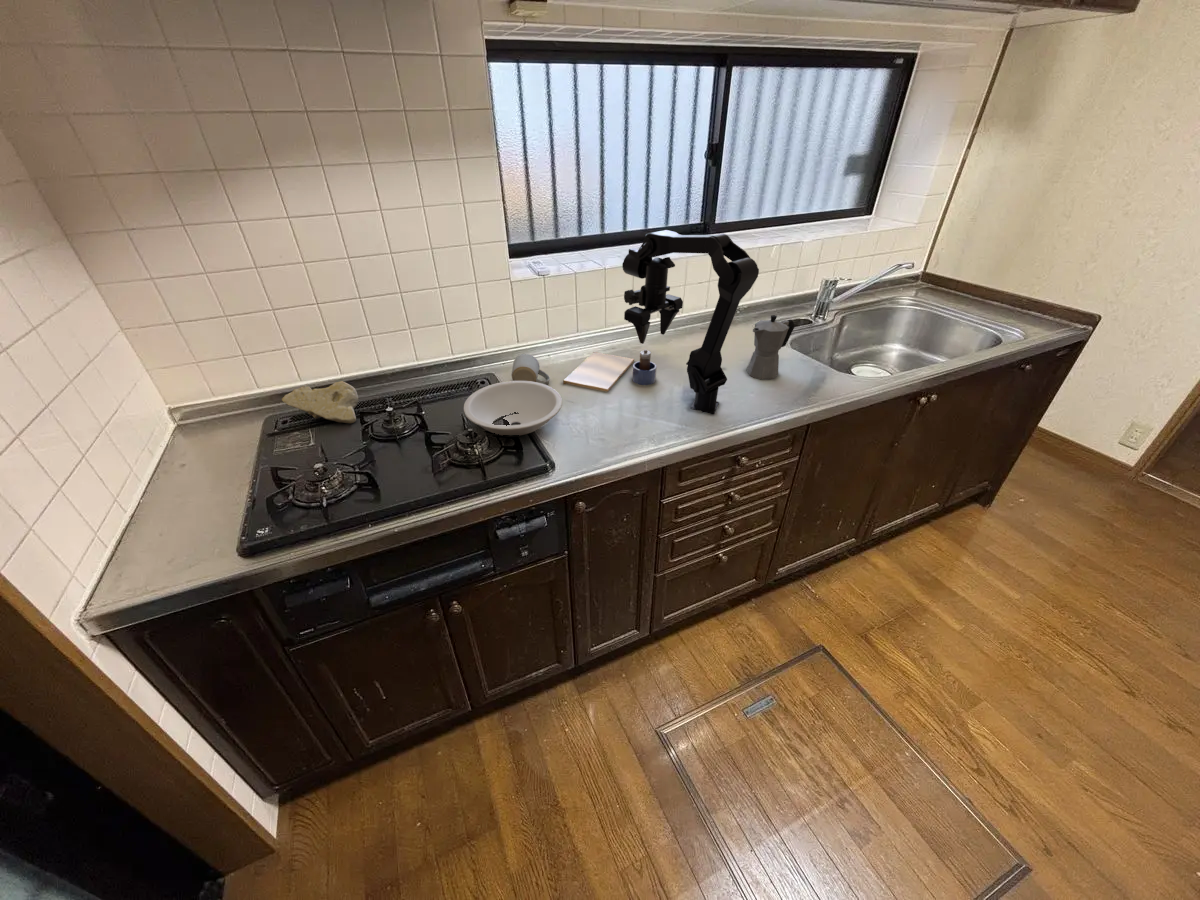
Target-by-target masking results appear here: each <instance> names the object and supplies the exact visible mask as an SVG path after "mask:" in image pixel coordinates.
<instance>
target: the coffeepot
mask: <svg viewBox="0 0 1200 900" xmlns="http://www.w3.org/2000/svg"><path fill="white" fill-rule="evenodd" d="M777 317H778V316H777V315H775V314H772V315H770V319H761V320H758V321H757V322H756V323H754V327H753V328H752V332H753V334H754V338H753V339H754V341H753V345H754V351H753V352H752V354H751V357H750V359H749V362H748V365H747V368H746V372H747V374H748V375H749V376H750V377H751V378H754V379H757V380H767V381H768V380H773V379H775V378H776V377H777V376H778V375H779V362H780V355H779V352H780V350H781V349H782V348H784V347H786V345H787V343H788V342H789V339H790V337H791V336H792V333H793V331H794V329H795V327H796V324H795V323H794V320H793V319H787V320H786V319H785V320H781V321H778V320H777Z"/></svg>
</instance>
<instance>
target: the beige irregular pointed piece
mask: <svg viewBox="0 0 1200 900" xmlns="http://www.w3.org/2000/svg"><path fill="white" fill-rule="evenodd" d="M308 385H309V383H306V384H304V385H302V386H300V387H299V388H293V390H292V391H291V392H289V393H287V394H285V395H284V396H283V397H281V401H282V402H283V403H284V404H285V405H288V406H289V407H293V408H295V409H298V410H300V411H303V412H305V413H308V415H310V416H312V417H313V419H319V418H323V419H325V420H328V421H333V422H336V423H345V424H354V423H356V422H357V416H356V413H355V408H356V407H357V406H358V403H359V395H358V392H357V389H356V388H355V387H354V386H352V385H351V384H349V383H347V382H345V381H342V380H341V381H336V382H333V383H332V384H330V385H329V386H327V387H323V388H313V389H312V388H311V387H310V386H308Z"/></svg>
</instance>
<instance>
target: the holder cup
mask: <svg viewBox="0 0 1200 900" xmlns="http://www.w3.org/2000/svg"><path fill="white" fill-rule="evenodd" d="M639 366H640V360H639V361H638V360H637V361H634V362H633V363H632V375H631V380H632V382H633V383H634V384H636V385H640V386H650V385H653V384H655V382H656V381H657V368H658V367H657V364H656V363H655V362H653V361H650V370H640V369H639Z"/></svg>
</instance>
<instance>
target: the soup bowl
mask: <svg viewBox="0 0 1200 900" xmlns="http://www.w3.org/2000/svg"><path fill="white" fill-rule="evenodd" d="M562 406H563V399H562V396H561V394H560V393H559V391H557V390H556V389H555V388H553V387H552V386H549V385H548V384H547V385H545V384H542V383H538V382H532V381H513V380H508V381H500V382H496V383H493V384H489V385H486V386H484V387H481V388H479V389H477V390H476V391H474V392H473V393H471V394H470V395H469V396H468V397H467V399H466V400H465V401H464V404H463V413H464V416H465V417H466V418H467V419H468V420H469V421H470V422H471V423H473V424H475V425H477V426H479V427H481V428H482V429H484V430H485V431H487V432H490V433H492V434H494V433H495V434H494V435H498V434H499V436H503V435H519V436H524V435H528V434H532V433H533V432H536V431H537V430H539V429H540V428H542V427H544V426H545V425H546V424H548V422H549V421H550V420H551V419H552V418H554V417H555V416H557V414H558V413H559V412H560V411H561V408H562ZM514 412H516V413H517V412H518V413H519V414H513V415H509V414H510V413H511V414H512V413H514ZM505 415H509V416H506V417H504V418H503V419H505V420H507V421H508V422H509V424H510V425H507V426H506V425H494V424H492V423H493V421H494V420H495V419H497V418H499V417H501V416H505ZM515 423H517V424H515ZM518 423H519V424H518ZM512 424H513V425H512Z"/></svg>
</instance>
